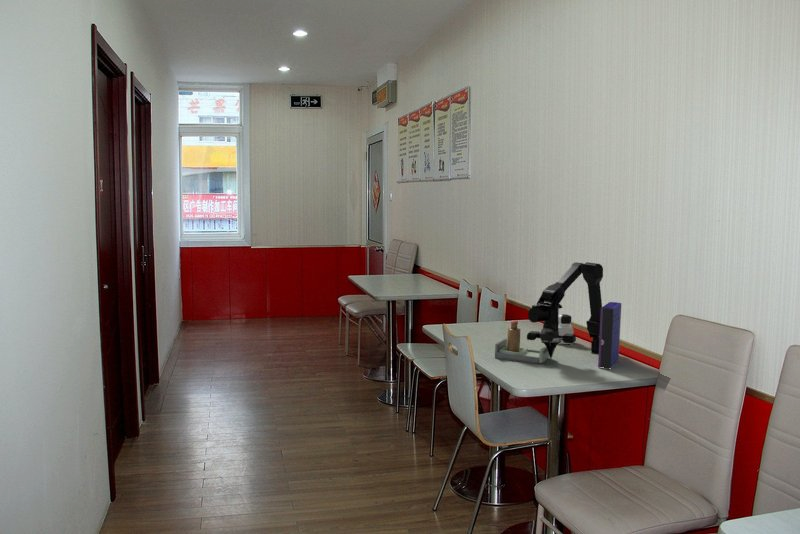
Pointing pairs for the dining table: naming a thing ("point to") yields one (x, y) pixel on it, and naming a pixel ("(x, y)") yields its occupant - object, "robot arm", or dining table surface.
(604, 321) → the cereal box
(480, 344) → the dining table surface
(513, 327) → the vinegar bottle
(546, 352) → the tray
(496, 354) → the dock
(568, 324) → the container
